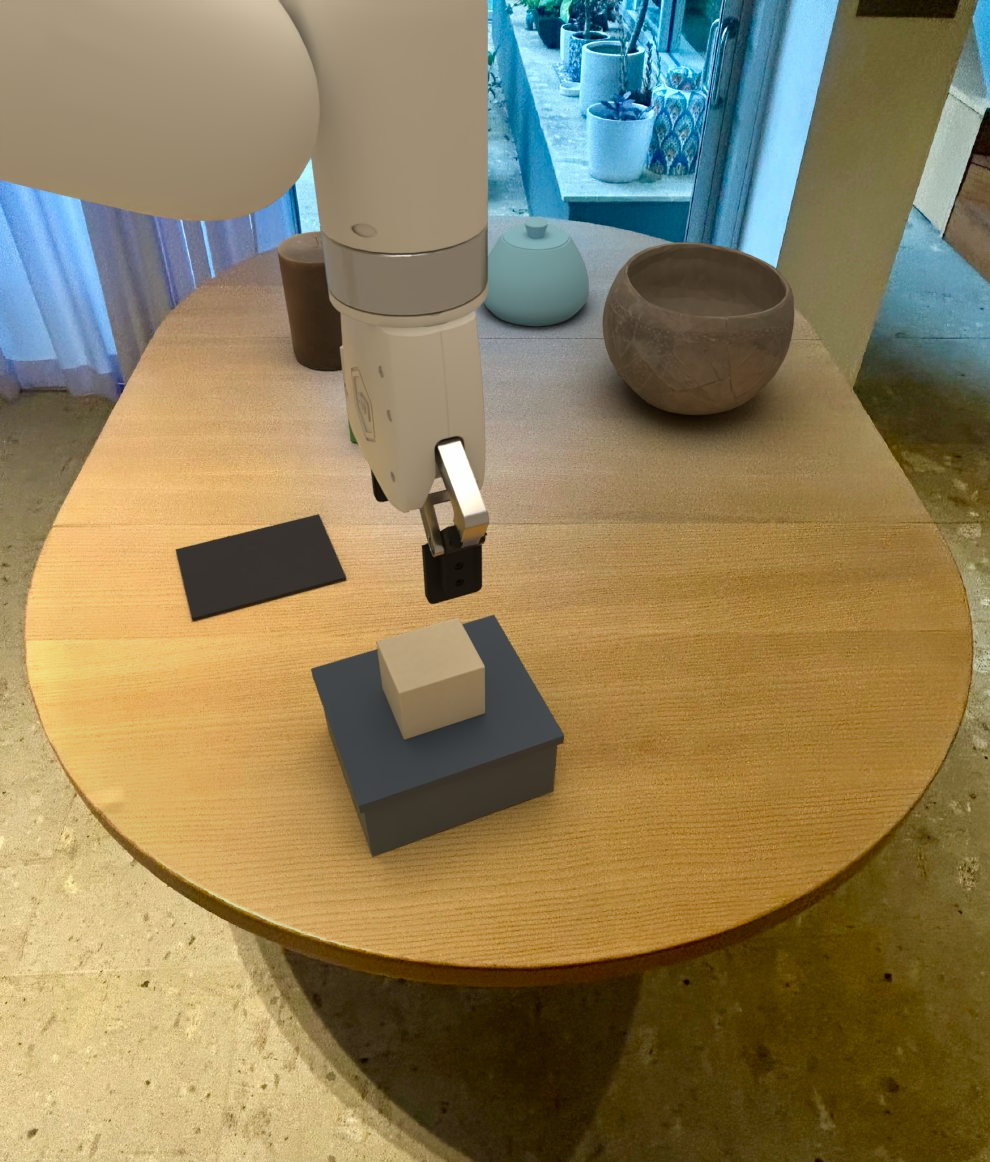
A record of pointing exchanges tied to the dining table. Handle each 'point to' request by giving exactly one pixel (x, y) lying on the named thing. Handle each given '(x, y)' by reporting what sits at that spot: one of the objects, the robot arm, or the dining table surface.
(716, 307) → the bowl
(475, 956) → the dining table surface
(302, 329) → the pillar candle
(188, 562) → the mat
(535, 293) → the sugar bowl
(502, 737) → the storage box
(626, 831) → the dining table surface
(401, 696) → the small box
